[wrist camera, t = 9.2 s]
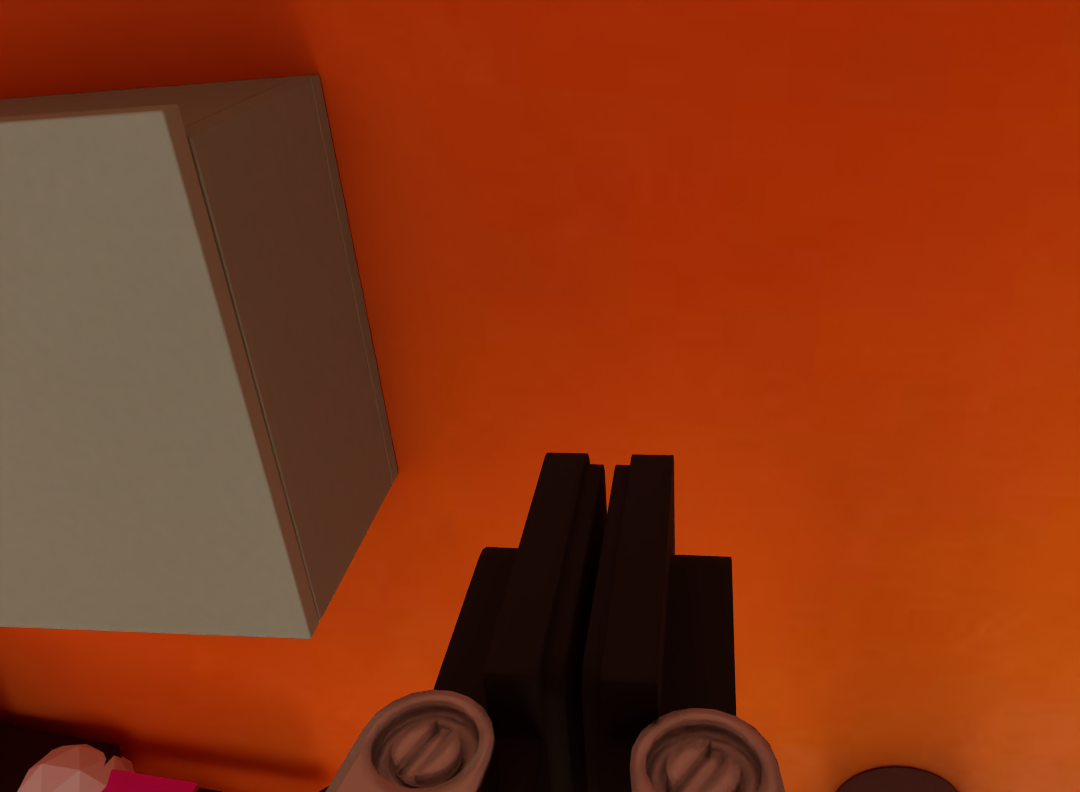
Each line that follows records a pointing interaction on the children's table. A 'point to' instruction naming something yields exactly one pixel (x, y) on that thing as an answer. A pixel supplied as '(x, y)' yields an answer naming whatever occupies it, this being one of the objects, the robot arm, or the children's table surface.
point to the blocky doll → (73, 766)
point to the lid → (129, 396)
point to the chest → (286, 295)
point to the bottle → (896, 781)
